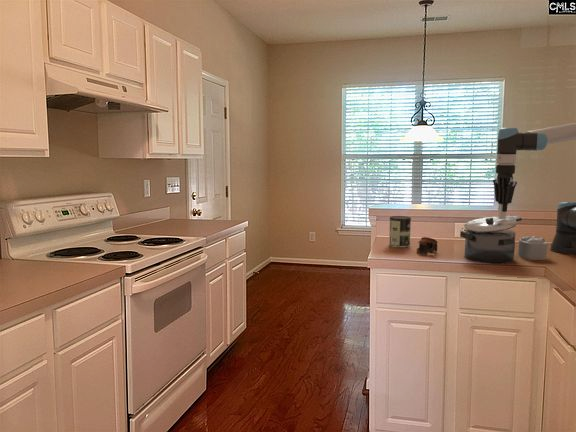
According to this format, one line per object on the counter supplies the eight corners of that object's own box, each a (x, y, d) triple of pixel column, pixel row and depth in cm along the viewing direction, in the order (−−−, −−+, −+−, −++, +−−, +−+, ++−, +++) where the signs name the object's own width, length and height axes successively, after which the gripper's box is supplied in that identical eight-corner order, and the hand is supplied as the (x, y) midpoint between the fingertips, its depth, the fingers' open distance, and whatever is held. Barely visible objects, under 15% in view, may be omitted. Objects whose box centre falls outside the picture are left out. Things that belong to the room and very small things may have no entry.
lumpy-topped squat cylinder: (523, 259, 209) (524, 239, 208) (514, 252, 222) (515, 234, 220) (549, 260, 207) (550, 240, 206) (538, 253, 220) (539, 234, 219)
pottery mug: (410, 252, 224) (415, 236, 226) (427, 260, 227) (432, 244, 229) (426, 251, 213) (431, 234, 215) (443, 259, 216) (448, 242, 218)
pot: (490, 250, 225) (492, 225, 224) (528, 263, 201) (530, 235, 199) (447, 253, 220) (448, 227, 219) (480, 266, 196) (482, 237, 194)
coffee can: (410, 243, 242) (411, 216, 240) (409, 248, 232) (410, 219, 230) (389, 242, 244) (390, 215, 242) (387, 246, 235) (388, 218, 233)
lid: (500, 215, 221) (500, 209, 221) (533, 222, 201) (532, 215, 201) (455, 227, 217) (454, 220, 216) (483, 235, 197) (482, 227, 196)
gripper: (488, 163, 212) (485, 216, 215) (508, 165, 199) (504, 221, 203) (503, 163, 213) (500, 216, 217) (523, 165, 201) (519, 220, 204)
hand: (502, 218), depth 210 cm, fingers closed
